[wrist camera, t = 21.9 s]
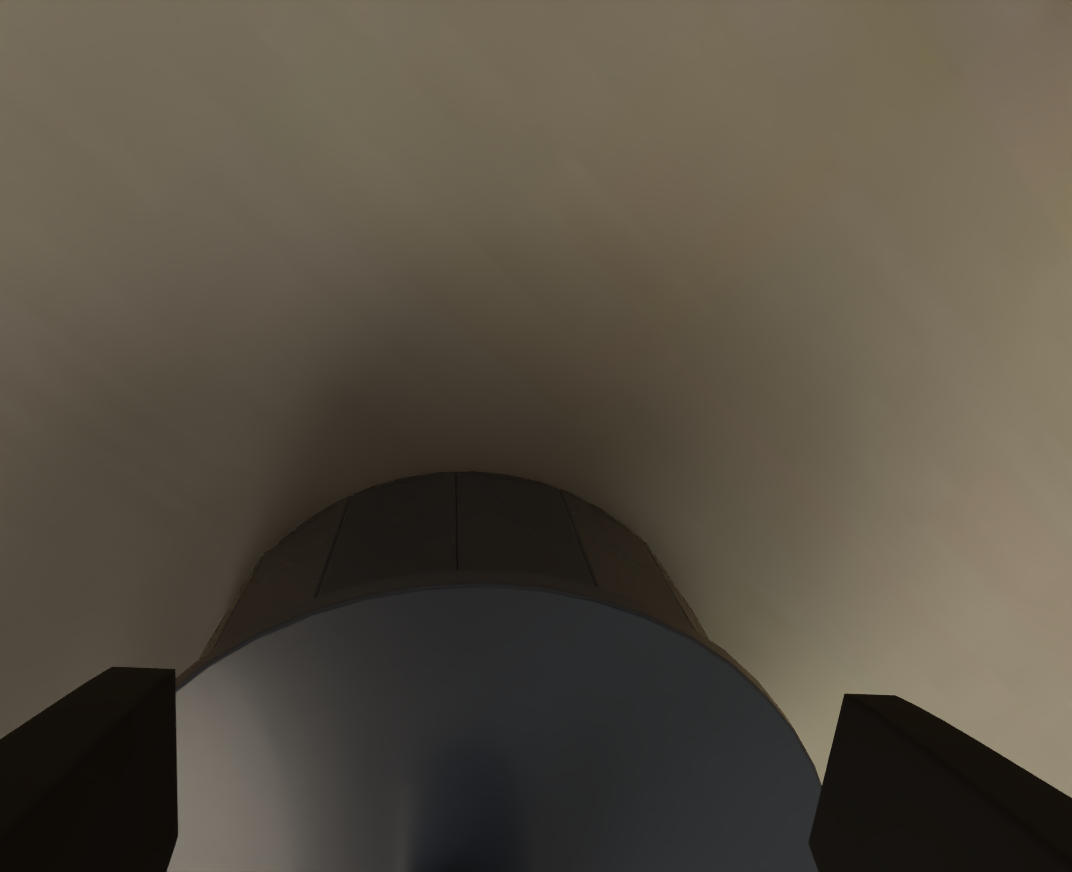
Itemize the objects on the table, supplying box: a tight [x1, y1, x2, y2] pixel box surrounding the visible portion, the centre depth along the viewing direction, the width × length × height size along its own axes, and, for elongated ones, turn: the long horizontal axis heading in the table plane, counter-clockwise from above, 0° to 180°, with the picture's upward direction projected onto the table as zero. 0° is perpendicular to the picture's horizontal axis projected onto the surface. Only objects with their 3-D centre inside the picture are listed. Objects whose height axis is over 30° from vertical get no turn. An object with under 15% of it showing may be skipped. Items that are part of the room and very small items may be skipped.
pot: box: [199, 472, 709, 660], centre depth 16 cm, size 12×12×6 cm
